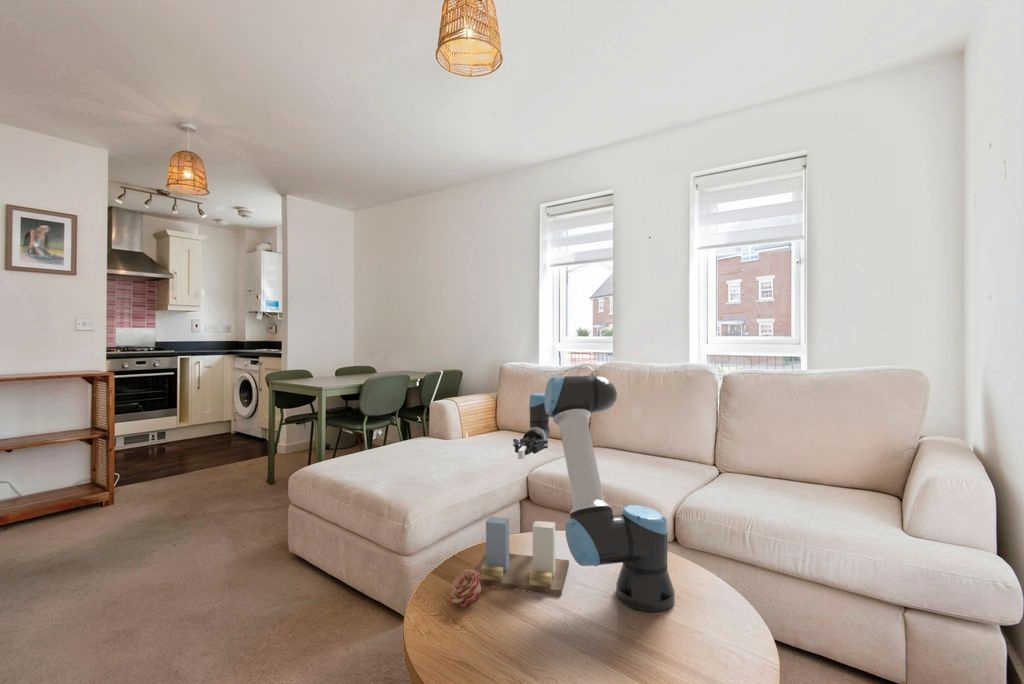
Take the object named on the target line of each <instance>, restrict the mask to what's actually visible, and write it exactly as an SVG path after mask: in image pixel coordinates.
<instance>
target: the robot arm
mask: <svg viewBox="0 0 1024 684" xmlns="http://www.w3.org/2000/svg"><path fill="white" fill-rule="evenodd" d="M545 386H546V387H545V390H544V391H545V392H537V393H535V392H534V393H532V394H530V396H529V403H528V405H529V429H528V430H527V431H526V432H525V433H524V435H523V437H522V438H520V439H517V438H513V439H512V442H513V445H512V446H513V447H514V453H516V454H517V456H518V457H517V459H518V460H523V459H524V458H525V457H526V456H527V455H530V454H531V453H532V454H537V453H539V452H541V451H543V450H544V449H548V448H549V447H548V446H549V444H548V443H549V441H548V439H549V437H550V436H551V435H550V434H551V427H550V426H549V421H550V418H552V420H553V422H554V423H555V424H556V425H558V426H559V431H560V437H561V442H562V447H563V453H564V457H565V464H566V470H567V475H568V480H569V481H568V482H569V487H570V492H571V497H572V503H573V507H572V509H571V511H570V512H569V519H567V520H566V521H565V526H564V529H565V538H566V542H567V547H568V548H569V552H570V554H571V556H572V558H573V559H574V561H575V562H576V563H577V564H578V565H579V566H582V567H592V566H593V567H598V566H603V565H612V564H619V563H622V565H621V569H620V572H619V574H618V578H617V580H616V583H615V584H616V585H615V587H616V589H615V592H616V593H615V594H616V596H617V598H618V599H619V600H620V602H621V603H623V604H625V605H626V606H627V607H629V608H632V609H634V610H637V611H640V610H641V611H642V612H645V611H646V612H647V613H659V612H665V611H667V610H669V609H670V608H672V607H673V605H675V600H676V599H675V598H676V597H675V588H674V586H673V582H672V579H671V576H670V574H669V570H668V535H669V530H668V523H667V522H668V521H667V518H666V516H665V515H664V514H663V513H661V512H660V511H658V510H655V509H653V508H650V507H647V506H643V505H639V504H638V505H636V504H634V505H633V504H631V505H630V504H629V505H625V506H624V507H622V510H621V514H614V511H613V507H612V506H611V505H610V504H608V503H607V502H606V501H605V496H604V492H603V488H602V483H601V478H600V473H599V468H598V464H597V458H596V455H595V450H594V445H593V440H592V436H591V435H592V434H591V431H590V426H589V419H590V418H591V416H592V413H599V412H604V411H607V410H610V408H611V409H612V407H613V406H614V405H615V403H616V400H617V399H618V398H617V388H616V387H615V385H614V384H613V383H612V382H611V381H610V380H609V379H608V378H606V377H603V376H599V375H595V374H594V375H570V376H569V375H567V376H564V375H561V376H554V377H553V376H552V377H550V378H549V379H548V381H547V382H546V385H545ZM641 611H640V612H641ZM646 612H645V613H646Z"/></svg>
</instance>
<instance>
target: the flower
mask: <svg viewBox="0 0 1024 684" xmlns="http://www.w3.org/2000/svg"><path fill="white" fill-rule="evenodd" d="M477 571H478V570H477ZM477 571H476V570H473V569H469V568H465V569H464V570H463V571H462V573H460V574H459V575H457V577H456V578H455V579H453V581H452V582H451V588H452V590H451V594H450V595H449V598H450V602H451V603H452V604H459V603H460V604H459V605H458V607H459V608H460V607H461V608H463V607H466V606H467V605H469V603H470V602H472V601H474V600H477V601H478V600H479V599H480V594H481V591H482V589H483V586H482V583H481V582H480V580H479V579H480V578H481V577H480V576H481V575H480V573H479V572H477ZM482 581H483V579H482ZM461 602H462V603H461Z"/></svg>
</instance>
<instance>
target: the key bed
mask: <svg viewBox="0 0 1024 684" xmlns="http://www.w3.org/2000/svg"><path fill="white" fill-rule="evenodd" d="M569 566H570V560H569V559H560V558H556V570H555V574H554V577H552V573H548V572H539V571H533V555H526V554H525V555H524V554H517V553H509V567H508V569H507V570H506V571H503V567H497V566H488V565H486V554H485V555H484V557H483V558H482V560H481V561H480V564H478V566H477V567H476V569H475V571H477V570H478V571H477V572H479V573H480V575H481V576H480V577H481V578H480V579H479V580H480V582H481V583H482V585H485V586H484V587H490V586H495V587H494V588H497V587H502V588H501V589H505V588H510V589H509V590H513V589H518V590H517V591H521V590H525V591H524V592H528V591H531V593H536V592H537V593H538V594H546V595H554V596H562V594H563V591H564V587H565V582H566V577H567V574H568V571H569ZM482 579H483V581H482Z"/></svg>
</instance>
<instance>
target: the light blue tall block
mask: <svg viewBox="0 0 1024 684" xmlns="http://www.w3.org/2000/svg"><path fill="white" fill-rule="evenodd" d="M485 546H486V547H485V552H486V553H485V555H486V565H488V566H497V567H503V571H506V570H507V569H508V567H509V554H510V518H509V517H507V518H506V517H500V516H499V517H498V516H497V517H496V516H489V517H488V519H487V520H486V521H485Z"/></svg>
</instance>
